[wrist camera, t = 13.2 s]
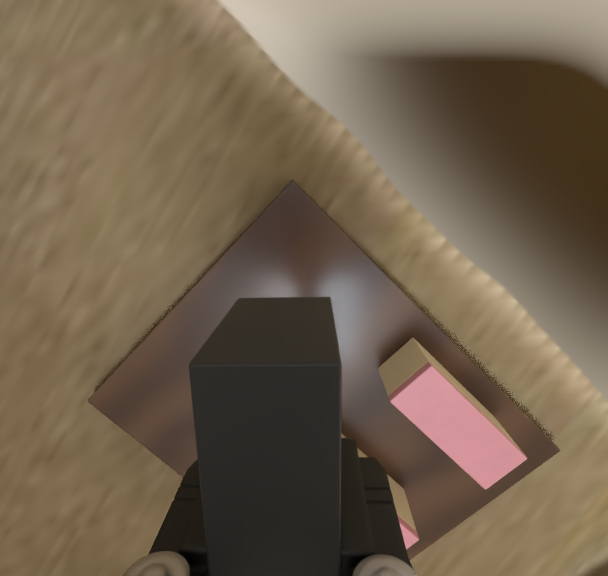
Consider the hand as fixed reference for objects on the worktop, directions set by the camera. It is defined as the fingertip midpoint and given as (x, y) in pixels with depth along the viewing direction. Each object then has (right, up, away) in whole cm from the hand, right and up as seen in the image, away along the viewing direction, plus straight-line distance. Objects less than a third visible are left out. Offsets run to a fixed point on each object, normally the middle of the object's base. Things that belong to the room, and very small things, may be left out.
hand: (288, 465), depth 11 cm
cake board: (+2, -4, +15) cm, 16 cm away
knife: (0, -4, +1) cm, 5 cm away
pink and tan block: (+9, -2, +14) cm, 16 cm away
